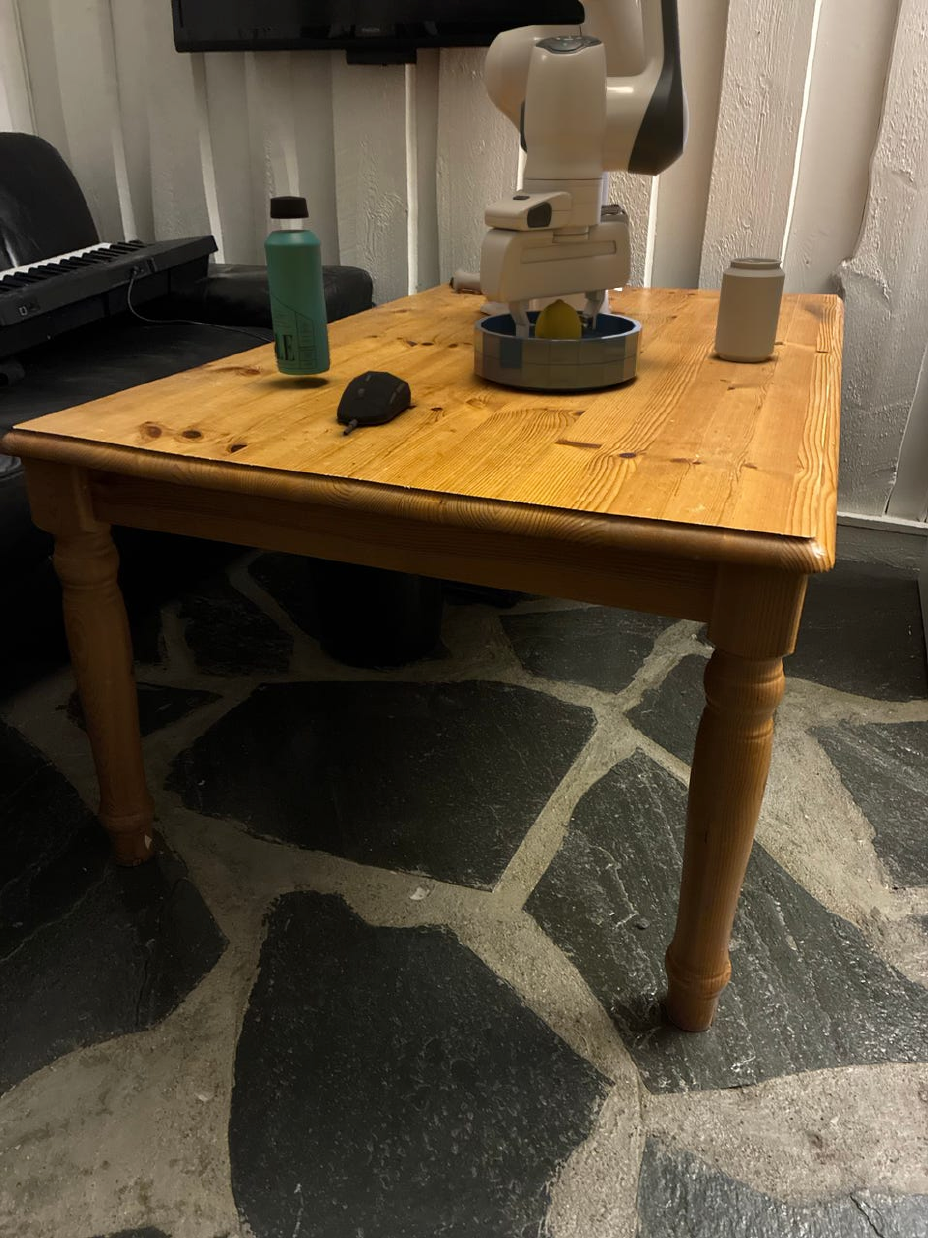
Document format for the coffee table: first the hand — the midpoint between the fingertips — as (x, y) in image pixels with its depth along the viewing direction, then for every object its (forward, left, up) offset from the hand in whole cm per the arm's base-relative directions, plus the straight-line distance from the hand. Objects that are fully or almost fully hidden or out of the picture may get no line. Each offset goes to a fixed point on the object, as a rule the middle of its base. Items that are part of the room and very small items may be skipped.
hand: (556, 334), depth 107 cm
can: (+7, +26, -5) cm, 27 cm away
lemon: (0, 0, -4) cm, 4 cm away
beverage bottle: (-15, -26, -5) cm, 30 cm away
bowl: (0, 0, -5) cm, 5 cm away
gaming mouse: (+2, -27, -5) cm, 28 cm away
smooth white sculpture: (-59, +31, -5) cm, 67 cm away
